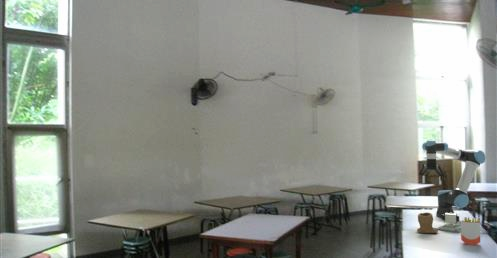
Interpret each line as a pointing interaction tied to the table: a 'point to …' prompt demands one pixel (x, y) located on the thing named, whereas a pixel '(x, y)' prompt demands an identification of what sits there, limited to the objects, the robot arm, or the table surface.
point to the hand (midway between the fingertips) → (431, 183)
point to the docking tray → (445, 228)
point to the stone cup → (426, 223)
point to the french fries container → (470, 231)
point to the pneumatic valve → (450, 219)
